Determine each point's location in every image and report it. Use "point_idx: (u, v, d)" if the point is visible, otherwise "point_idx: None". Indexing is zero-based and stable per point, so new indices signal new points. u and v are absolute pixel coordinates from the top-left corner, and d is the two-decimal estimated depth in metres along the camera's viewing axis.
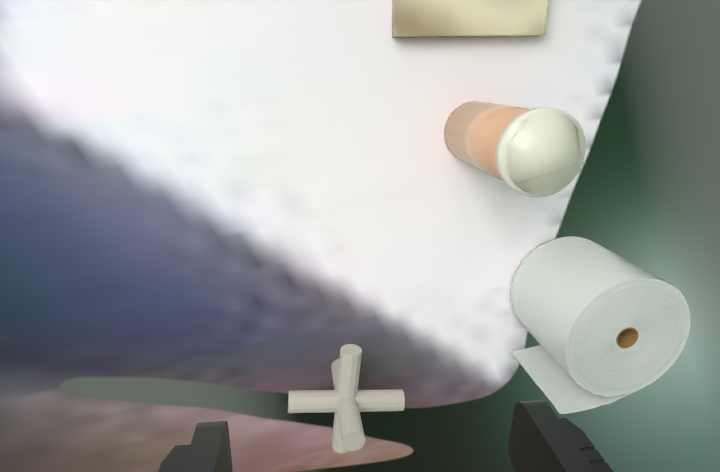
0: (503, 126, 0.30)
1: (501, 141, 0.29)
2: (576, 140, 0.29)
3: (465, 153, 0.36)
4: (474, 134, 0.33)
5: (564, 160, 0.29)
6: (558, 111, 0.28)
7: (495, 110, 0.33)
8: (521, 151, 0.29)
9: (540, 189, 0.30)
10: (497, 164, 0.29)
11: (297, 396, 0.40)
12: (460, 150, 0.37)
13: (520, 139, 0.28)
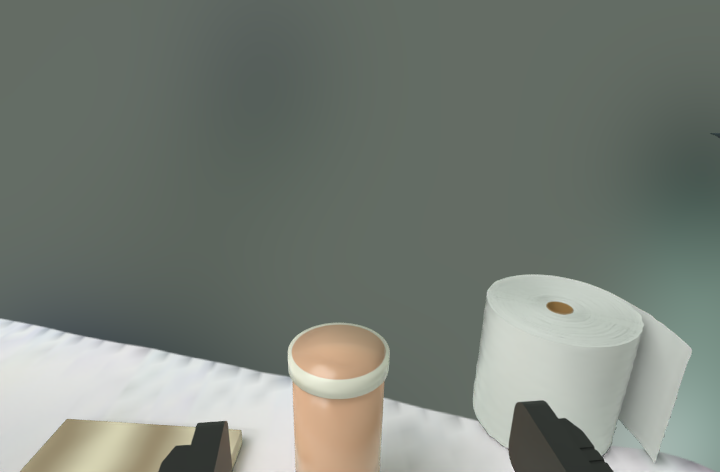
0: (304, 399, 0.24)
1: (317, 387, 0.23)
2: (329, 328, 0.27)
3: None
4: (321, 462, 0.25)
5: (349, 335, 0.26)
6: (294, 340, 0.26)
7: (295, 438, 0.26)
8: (331, 366, 0.24)
9: (380, 351, 0.25)
10: (346, 394, 0.23)
11: None
12: None
13: (316, 367, 0.24)
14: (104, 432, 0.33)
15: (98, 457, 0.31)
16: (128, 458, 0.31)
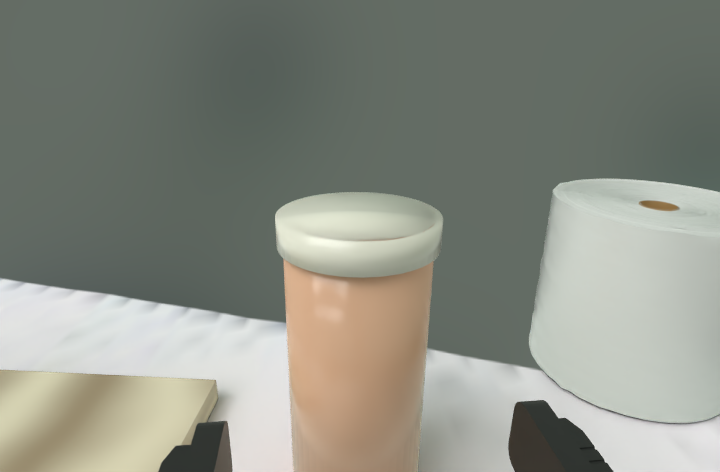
0: (303, 288, 0.14)
1: (325, 257, 0.13)
2: (341, 196, 0.17)
3: (382, 444, 0.16)
4: (333, 398, 0.15)
5: (374, 202, 0.17)
6: (286, 206, 0.16)
7: (290, 365, 0.16)
8: (348, 228, 0.14)
9: (427, 215, 0.15)
10: (377, 269, 0.13)
11: None
12: (379, 468, 0.16)
13: (324, 229, 0.14)
14: (21, 384, 0.24)
15: (4, 415, 0.22)
16: (48, 416, 0.22)
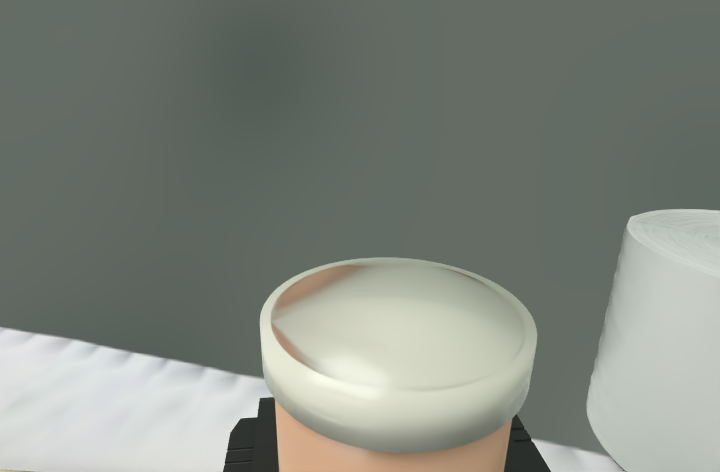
0: (306, 448, 0.08)
1: (346, 418, 0.07)
2: (363, 267, 0.11)
3: None
4: None
5: (415, 280, 0.11)
6: (279, 290, 0.10)
7: None
8: (384, 351, 0.08)
9: (507, 314, 0.09)
10: (438, 438, 0.07)
11: None
12: None
13: (341, 355, 0.08)
14: None
15: None
16: None
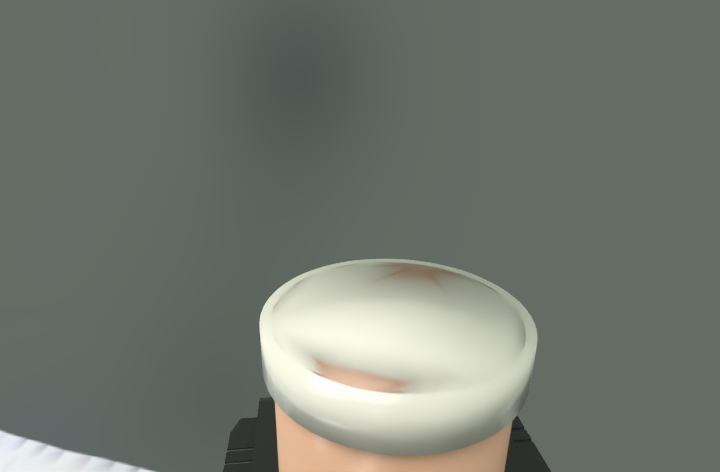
0: (306, 450, 0.08)
1: (346, 420, 0.07)
2: (363, 269, 0.11)
3: None
4: None
5: (415, 282, 0.11)
6: (279, 292, 0.10)
7: None
8: (383, 354, 0.08)
9: (507, 316, 0.09)
10: (438, 441, 0.07)
11: None
12: None
13: (341, 357, 0.08)
14: None
15: None
16: None
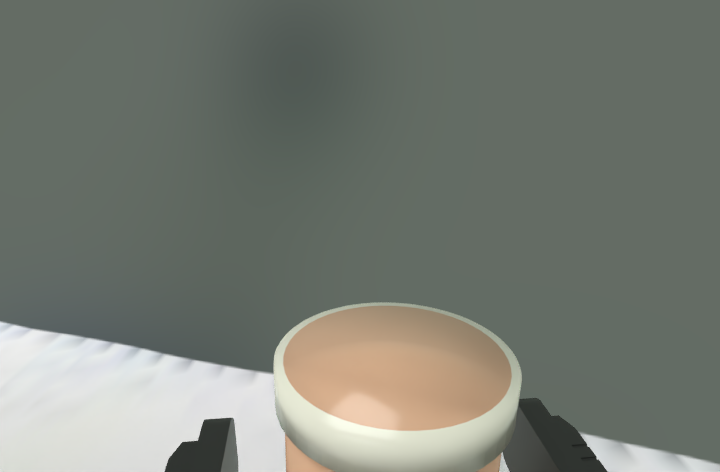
0: None
1: (352, 454, 0.08)
2: (366, 312, 0.13)
3: None
4: None
5: (412, 325, 0.12)
6: (290, 335, 0.11)
7: None
8: (385, 393, 0.09)
9: (495, 358, 0.10)
10: None
11: None
12: None
13: (347, 396, 0.09)
14: None
15: None
16: None
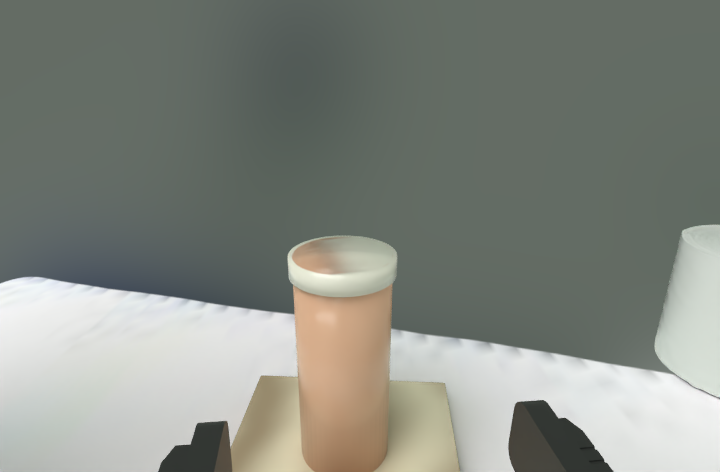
0: (306, 303, 0.22)
1: (319, 285, 0.21)
2: (332, 239, 0.25)
3: (359, 406, 0.24)
4: (326, 375, 0.23)
5: (353, 244, 0.25)
6: (294, 248, 0.24)
7: (298, 354, 0.24)
8: (334, 265, 0.22)
9: (387, 255, 0.23)
10: (351, 292, 0.21)
11: None
12: (358, 423, 0.24)
13: (318, 266, 0.22)
14: None
15: None
16: None
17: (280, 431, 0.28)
